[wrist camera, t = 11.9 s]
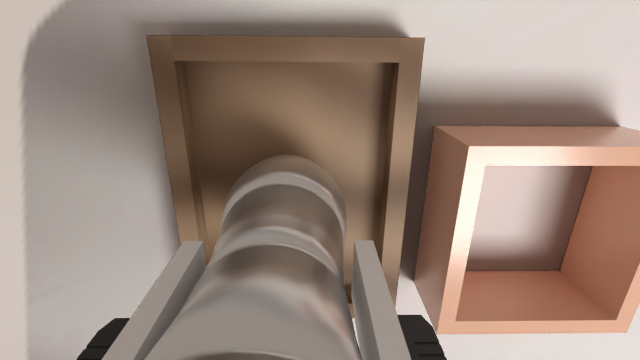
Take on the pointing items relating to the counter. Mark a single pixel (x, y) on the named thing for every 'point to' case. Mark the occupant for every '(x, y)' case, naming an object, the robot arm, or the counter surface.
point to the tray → (291, 125)
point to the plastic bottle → (271, 274)
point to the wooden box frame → (583, 249)
